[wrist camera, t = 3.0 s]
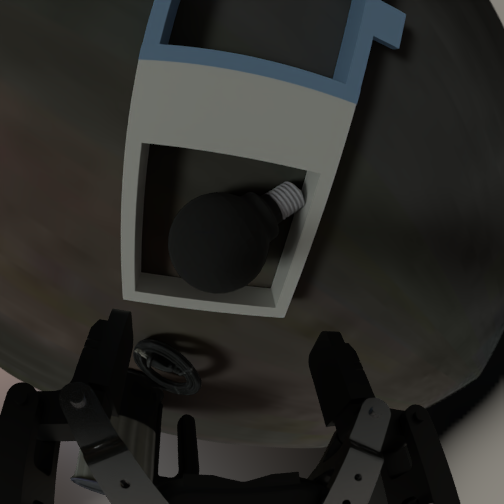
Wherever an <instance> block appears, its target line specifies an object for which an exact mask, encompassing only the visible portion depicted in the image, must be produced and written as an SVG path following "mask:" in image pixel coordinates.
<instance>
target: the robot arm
mask: <svg viewBox="0 0 504 504" xmlns="http://www.w3.org/2000/svg"><path fill="white" fill-rule="evenodd" d="M132 348H133V329H132V316H131V312H130V311H124V310H118V309H112V311H111V314H110V316H109V319H108V321H106V320H101V319H99V320H98V321H97V322H96V323H95V324H94V325H93V326H92V327H91V329H90V332H89V335H88V337H87V340H86V342H85V345H84V348H83V350H82V353H81V356H80V359H79V362H78V364H77V367H76V370H75V373H74V376H73V379H72V381H71V382H70V383H69V384H67V385H65V386H64V387H63V388H62V389H61V390H57V391H36V390H35V388H34V387H33V386H32V385H30V384H28V383H17V384H14V385H13V386H12V387H11V388H10V389H9V391H8V392H7V395H6V398H5V401H4V404H3V408H2V411H1V415H0V504H54V494H55V480H56V471H57V463H58V455H59V448H60V441H77V443H78V445H79V447H80V449H81V451H82V453H83V457H84V460H85V462H86V464H87V465H88V467H89V469H90V471H91V472H92V474H93V476H94V478H95V479H96V481H97V483H98V484H99V486H100V487H101V489H102V491H103V492H104V494H105V495H106V497H107V498H108V500H109V501H110V502H111V504H368V502H369V499H370V497H371V495H372V492H373V489H374V487H375V484H376V482H377V479H378V476H379V473H380V472H381V476H382V480H383V484H384V488H385V492H386V497H387V501H388V504H460V500H459V497H458V494H457V490H456V487H455V484H454V481H453V478H452V474H451V472H450V469H449V466H448V463H447V460H446V457H445V454H444V451H443V449H442V446H441V443H440V441H439V438H438V435H437V433H436V430H435V428H434V425H433V423H432V420H431V418H430V415H429V413H428V412H427V410H426V409H425V408H424V407H422V406H420V405H411V406H410V407H409V408H407V409H406V410H405V411H402V410H396V409H390V408H389V407H388V405H387V404H386V403H385V402H384V401H383V400H381V399H379V398H375V396H374V393H373V391H372V389H371V386H370V384H369V381H368V379H367V377H366V374H365V372H364V370H363V367H362V365H361V363H360V360H359V358H358V356H357V353H356V351H355V350H354V349H353V348H352V347H351V346H350V345H349V343H345V342H344V340H343V338H342V335H341V333H340V332H332V331H323V332H321V333H320V335H319V337H318V339H317V341H316V343H315V345H314V347H313V348H312V350H311V352H310V355H309V368H310V371H311V375H312V378H313V382H314V385H315V389H316V392H317V396H318V399H319V403H320V407H321V410H322V414H323V417H324V421H325V425H326V427H329V426H336V431H335V432H334V434H333V436H332V438H331V440H330V442H329V444H328V446H327V448H326V451H325V452H324V455H323V457H322V458H321V460H320V462H319V464H318V465H317V467H316V468H315V469H314V470H313V472H312V473H311V474H310V476H309V477H308V478H307V479H305V478H301V477H299V472H292V473H281V474H271V475H268V476H264V477H261V478H257V479H254V480H250V481H247V482H240V481H235V480H230V479H226V478H222V477H218V476H214V475H197V474H183V478H182V479H175V480H172V481H168V482H166V483H163V484H161V485H159V486H158V487H155V486H154V484H153V483H152V482H151V480H150V479H149V478H148V476H147V475H146V474H145V472H144V471H143V470H142V468H141V467H140V465H139V464H138V463H137V461H136V460H135V458H134V457H133V455H132V454H131V452H130V451H129V449H128V448H127V446H126V445H125V443H124V442H123V440H122V439H121V438H120V437H119V435H118V434H117V432H116V430H115V429H114V427H113V425H112V424H111V422H110V419H111V416H115V417H119V412H120V406H121V401H122V395H123V390H124V385H125V380H126V376H127V371H128V367H129V362H130V358H131V353H132ZM406 444H407V447H408V450H409V453H410V456H411V459H412V468H411V466H410V463H409V460H408V457H407V454H406V450H405V447H404V446H405V445H406Z"/></svg>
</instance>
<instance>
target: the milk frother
mask: <svg viewBox="0 0 504 504" xmlns="http://www.w3.org/2000/svg"><path fill="white" fill-rule="evenodd" d="M133 356H134V360H135V362H136V364H137V365H138V367H139V368H140V369H141V370H142V371H143V372H144V373H145V374H146V375H147V376H145V375H143V374H141V373H138V372H135V371H132V370H129V369H128V371H127V376H126V380H125V385H124V390H123V395H122V401H121V406H120V412H119V417H115V416H111V419H110V422H111V424H112V425H113V427H114V429H115V430H116V432H117V434H118V435H119V437H120V438H121V439H122V440H123V442H124V443H125V445H126V446H127V448H128V449H129V451H130V452H131V454H132V455H133V457H134V458H135V460H136V461H137V463H138V464H139V465H140V467H141V468H142V470H143V471H144V472H145V474H146V475H147V476H148V478H149V479H150V480H151V482H152V483H153V484H154V486H155V487H158V486H159V485H161V484H163V483H166V482H168V481H172V480H175V479H182V478H183V474H197V475H199V461H198V449H197V438H196V427H195V420H194V418H193V417H192V416H190V415H187V414H186V415H183V416H182V417H181V418H180V420H179V421H178V424H177V432H178V465H179V472H178V474H177V475H176V476H175V477H172V478H168V477H162V476H159V475H158V463H159V448H160V433H161V418H162V408H163V405H162V404H161V400H162V399H163V391H162V389H163V390H166V391H169V392H172V393H176V394H183V395H192V394H195V393H197V392H198V390H199V389H200V388H201V379H200V376H199V374H198V373H197V371H196V369H195V368H194V367H193V365H192V364H191V363H190V362H189V361H188V360H187V359H186V358H185V357H184V356H183V355H182V354H181V353H180V352H178V351H177V350H176V349H174V348H173V347H171V346H169V345H168V344H165V343H163V342H161V341H157V340H153V339H144V340H142V341H140V342H139V343H138V344H137V345H136V346H135V349H134V353H133ZM145 358H146V360H147V361H146V360H145ZM151 366H153V367H155V368H157V369H159V370H162V371H167V372H174V373H176V374H178V375H179V376H181V375H184V376H185V378H186V380H187V382H185V383H176V382H173V381H170V380H168V379H166V378H164V377H162V376H161V375H159V374H158V373H157V372H156V371H154V370H153V369H152V368H151ZM149 377H150V378H149ZM156 382H157V383H158V384H160V385H158V384H157V383H156ZM71 480H72V481H73V482H74V483H76V484H78V485H80V486H81V487H84V488H86V489H89V490H91V491H94V492H97V493H100V494H103V495H105V494H104V492H103V491H102V489H101V487H100V486H99V484H98V483H97V481H96V479H95V478H94V476H93V474H92V472H91V471H90V469H89V467H88V465H87V464H86V462H85V460H84V457H83V453H82V451H81V449H80V451H79V456H78V462H77V467H76V472H75V474H74V476H72V477H71Z"/></svg>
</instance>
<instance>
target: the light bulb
mask: <svg viewBox="0 0 504 504" xmlns="http://www.w3.org/2000/svg"><path fill="white" fill-rule="evenodd" d="M304 204H305V203H304V198H303V195H302V191H301V190H300V189H299V188H298V187H296V186H295V185H294V184H293V183H291V182H284V183H283V184H280V185H279V186H277V187H276V188H274V189H272V190H271V191H269V192H268V193H265V194H264V195H262V196H258V195H257V194H255V193H254V192H247V193H246V194H244V195H242V196H236V195H233V194H228V193H217V192H216V193H209V194H205V195H201V196H199V197H197V198H195V199H193V200H191V201H190V202H189V203H187V204H186V205H185V206H184V207H183V208H182V209H181V210H180V211H179V213H178V214H177V215H176V217H175V219H174V221H173V223H172V225H171V228H170V232H169V238H168V249H169V255H170V258H171V261H172V264H173V266H174V268H175V269H176V271H177V272H178V274H179V275H180V276H181V277H182V279H184V280H185V281H186V282H187V283H188V284H189V285H191V286H193V287H194V288H196V289H198V290H201V291H204V292H209V293H214V294H217V293H228V292H233V291H236V290H238V289H240V288H243V287H244V286H246V285H247V284H248V283H250V282H251V281H252V280H253V279H254V278H255V277H256V276H257V275H258V274H259V272H260V271H261V269H262V267H263V266H264V264H265V261H266V258H267V255H268V250H269V243H270V241H272V240H273V239H275V238H276V237H277V236H278V234H279V228H278V223H280V222H281V221H282V220H283V219H286V217H289V216H290V215H292V214H293V213H294V212H296V211H297V210H299V209H300V208H302V207H304Z"/></svg>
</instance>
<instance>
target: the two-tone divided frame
mask: <svg viewBox="0 0 504 504" xmlns="http://www.w3.org/2000/svg"><path fill="white" fill-rule="evenodd" d="M179 3H180V0H154V3H153V7H152V10H151V13H150V17H149V20H148V24H147V28H146V32H145V36H144V40H143V43H142V46H141V50H140V55H139V62H138V66H137V71H136V77H135V82H134V88H133V93H132V99H131V106H130V113H129V120H128V128H127V136H126V145H125V156H124V168H123V183H122V204H121V268H122V290H123V299H124V300H131V301H137V302H144V303H151V304H158V305H165V306H172V307H180V308H188V309H196V310H205V311H214V312H223V313H233V314H243V315H255V316H267V317H280V318H284V317H285V314H286V312H287V309H288V307H289V304H290V301H291V299H292V296H293V294H294V291H295V288H296V286H297V283H298V281H299V278H300V275H301V273H302V270H303V267H304V264H305V262H306V259H307V256H308V254H309V251H310V248H311V245H312V242H313V240H314V237H315V234H316V231H317V228H318V225H319V222H320V219H321V217H322V214H323V211H324V208H325V205H326V202H327V199H328V196H329V193H330V190H331V187H332V183H333V180H334V177H335V174H336V171H337V168H338V165H339V161H340V158H341V155H342V152H343V148H344V145H345V142H346V138H347V135H348V132H349V128H350V125H351V121H352V118H353V114H354V111H355V107H356V104H357V102H358V99H359V95H360V91H361V90H360V89H361V85H362V81H363V77H364V73H365V69H366V65H367V61H368V57H369V53H370V49H371V45H372V40H374V41H377V42H379V43H381V44H383V45H385V46H387V47H389V48H391V49H399V47H400V42H401V37H402V32H403V27H404V22H405V17H406V14H405V13H403V12H401V11H399V10H398V9H396V8H394V7H392V6H390V5H389V4H387V3H385V2H383V1H381V0H352V2H351V7H350V11H349V15H348V19H347V24H346V28H345V32H344V36H343V40H342V44H341V48H340V52H339V56H338V60H337V64H336V68H335V72H334V76H333V79H330V78H327V77H324V76H321V75H318V74H315V73H312V72H309V71H306V70H302V69H299V68H295V67H292V66H288V65H284V64H281V63H277V62H273V61H269V60H264V59H260V58H255V57H251V56H246V55H241V54H235V53H230V52H224V51H218V50H211V49H204V48H196V47H187V46H177V45H168V43H169V39H170V35H171V31H172V28H173V24H174V20H175V17H176V13H177V10H178V6H179ZM150 144H158V145H167V146H175V147H183V148H190V149H197V150H204V151H210V152H217V153H223V154H229V155H234V156H240V157H245V158H251V159H256V160H261V161H266V162H271V163H276V164H281V165H285V166H290V167H294V168H299V169H303V170H307V173H306V176H305V180H304V183H303V187H302V190H301V191H302V195H303V198H304V203H305V204H304V207H302V208H300V209H299V210H297V211H296V212H295V213H294V217H293V220H292V223H291V226H290V230H289V233H288V236H287V239H286V242H285V246H284V249H283V252H282V255H281V258H280V261H279V265H278V268H277V271H276V274H275V277H274V280H273V283H272V286H271V288H262V287H253V286H244V287H243V288H240V289H238V290H236V291H233V292H228V293H217V294H214V293H209V292H204V291H201V290H198V289H196V288H194V287H193V286H191V285H189V284H188V283H187V282H186V281H185V280H184V279H182V278H179V277H172V276H164V275H157V274H150V273H143V272H141V253H142V226H143V209H144V195H145V183H146V173H147V163H148V155H149V147H150Z"/></svg>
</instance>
